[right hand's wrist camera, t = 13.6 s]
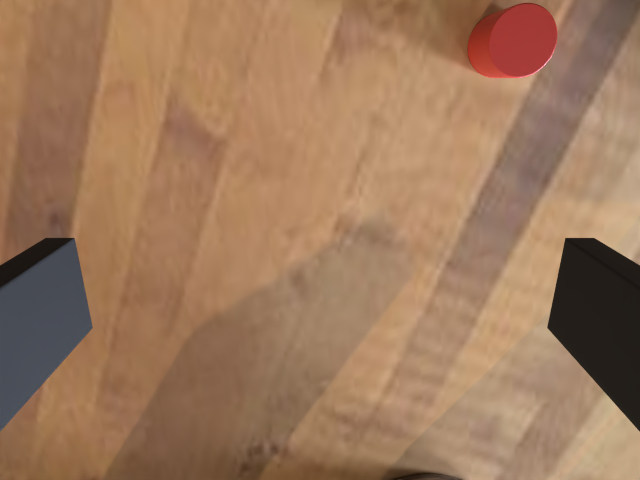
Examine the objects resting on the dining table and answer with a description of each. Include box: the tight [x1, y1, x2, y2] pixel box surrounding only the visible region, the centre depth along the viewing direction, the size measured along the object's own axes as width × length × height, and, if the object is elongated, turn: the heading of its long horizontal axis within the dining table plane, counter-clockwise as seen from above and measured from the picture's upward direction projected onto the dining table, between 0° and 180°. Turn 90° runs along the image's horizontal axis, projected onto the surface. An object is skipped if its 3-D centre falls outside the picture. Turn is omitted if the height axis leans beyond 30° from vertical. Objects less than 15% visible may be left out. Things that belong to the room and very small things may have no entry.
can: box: [468, 3, 557, 78], centre depth 30 cm, size 4×4×4 cm
